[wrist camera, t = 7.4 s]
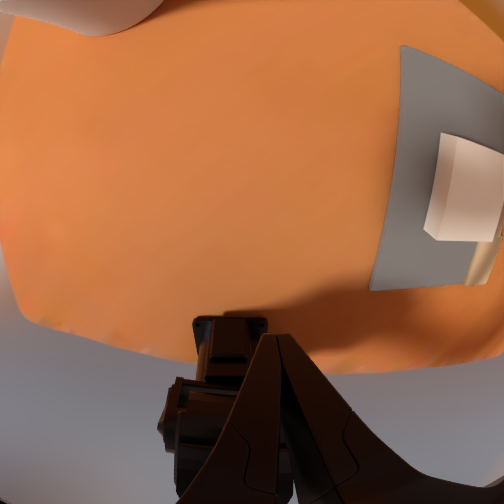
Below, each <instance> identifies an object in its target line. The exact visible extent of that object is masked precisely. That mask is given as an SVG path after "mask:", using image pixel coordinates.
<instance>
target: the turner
mask: <svg viewBox="0 0 504 504" xmlns="http://www.w3.org/2000/svg"><path fill="white" fill-rule="evenodd" d="M503 226H504V203H503V207H502V211H501V214H500V218H499V222H498V225H497V228H496V232H495V235H494V238H493V241H492V242H478V243H477V246H476V249H475V252H474V255H473V257H472V260H471V263H470V266H469V268H468V271H467V273H466V276H465V278H464V281H463V285H464V286H465V287H466V286H473V285H481V284H486V282H487V279H488V277H489V275H490V272H491V270H492V267H493V265H494V262H495V260H496V257H497V254H498V251H499V249H500V246H501V243H502V240H503V237H504V236H503V235H502V234H501V232H502V229H503Z"/></svg>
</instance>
